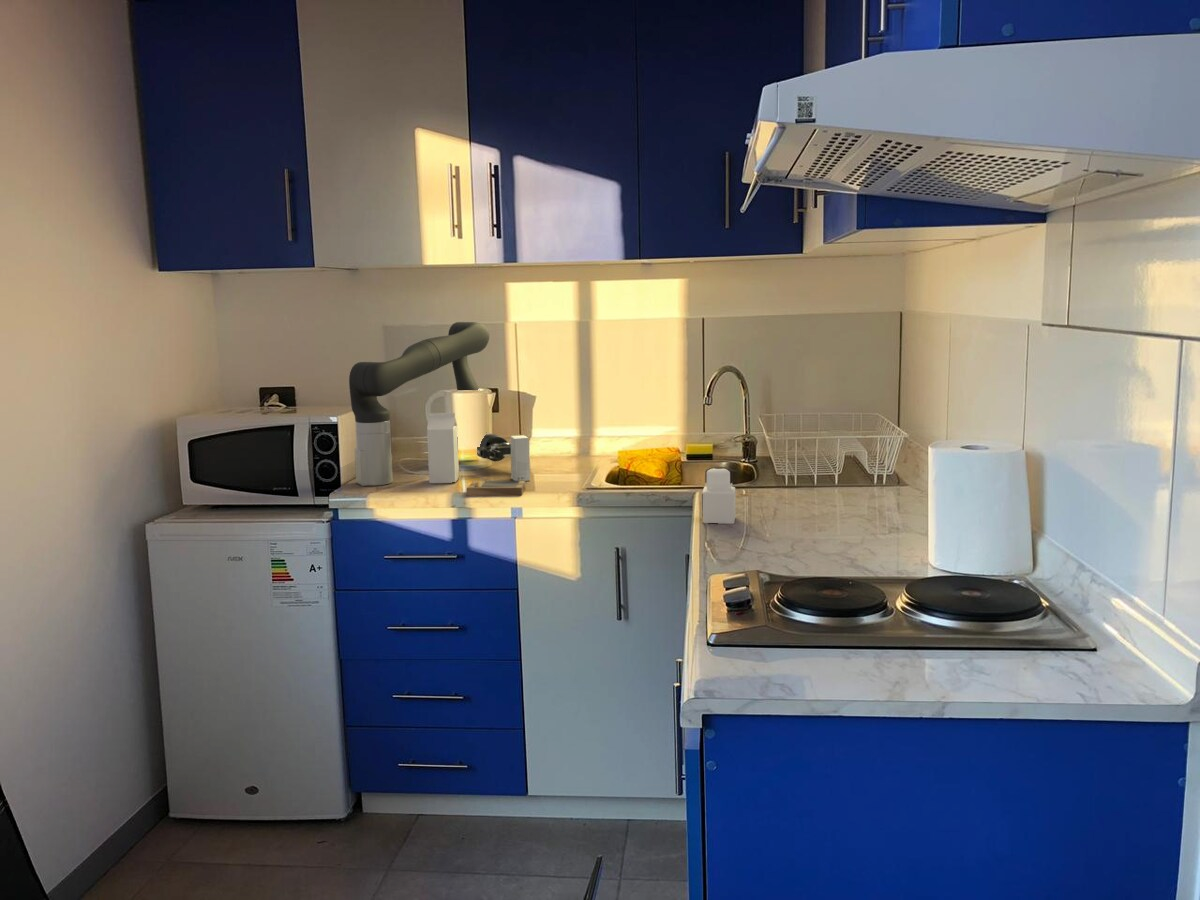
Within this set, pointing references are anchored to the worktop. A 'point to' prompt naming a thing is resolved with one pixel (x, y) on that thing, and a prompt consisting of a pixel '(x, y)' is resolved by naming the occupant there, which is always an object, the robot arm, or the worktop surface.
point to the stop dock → (497, 488)
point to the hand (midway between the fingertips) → (513, 453)
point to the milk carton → (442, 448)
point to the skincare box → (520, 458)
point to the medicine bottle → (718, 496)
